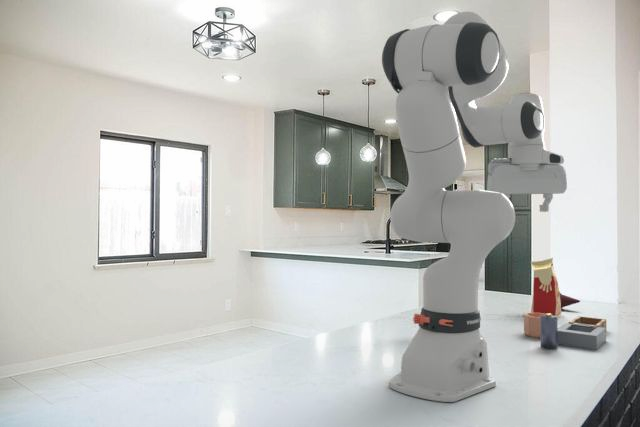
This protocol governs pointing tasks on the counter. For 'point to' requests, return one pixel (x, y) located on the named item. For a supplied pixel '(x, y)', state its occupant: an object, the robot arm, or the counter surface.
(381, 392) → the counter surface
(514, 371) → the counter surface
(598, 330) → the grey rectangular frame box
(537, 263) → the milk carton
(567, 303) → the icecream
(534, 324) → the cup
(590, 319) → the trough
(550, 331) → the cell
